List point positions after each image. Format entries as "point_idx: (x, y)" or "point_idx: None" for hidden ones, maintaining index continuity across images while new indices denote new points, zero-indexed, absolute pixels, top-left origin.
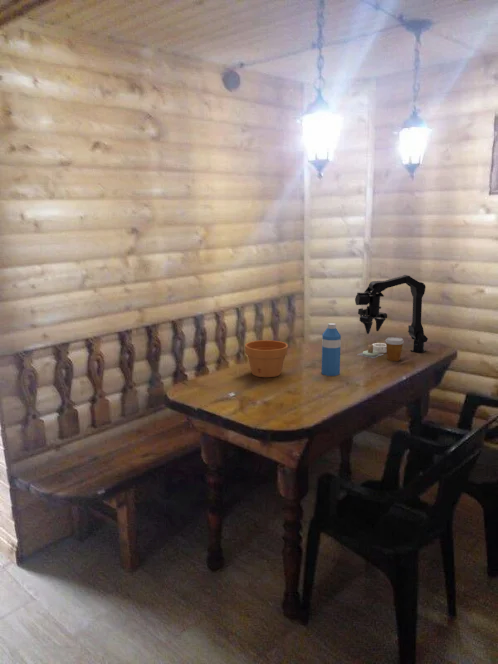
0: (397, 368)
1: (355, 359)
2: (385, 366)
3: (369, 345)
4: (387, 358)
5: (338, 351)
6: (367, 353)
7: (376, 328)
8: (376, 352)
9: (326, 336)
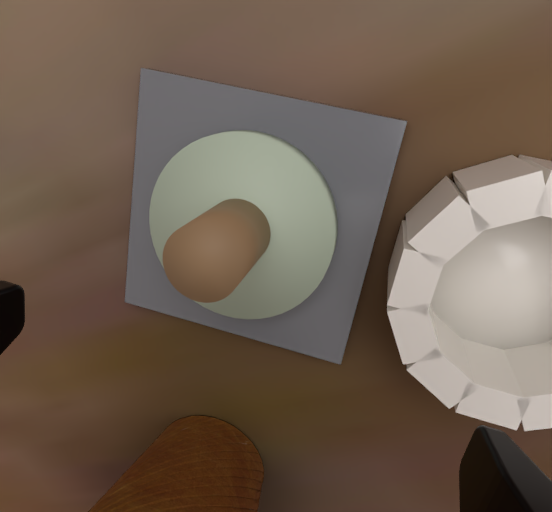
0: (39, 509)
1: (28, 128)
2: (24, 430)
3: (178, 252)
4: (167, 432)
5: None
6: (166, 219)
7: (496, 490)
8: (272, 300)
9: None
